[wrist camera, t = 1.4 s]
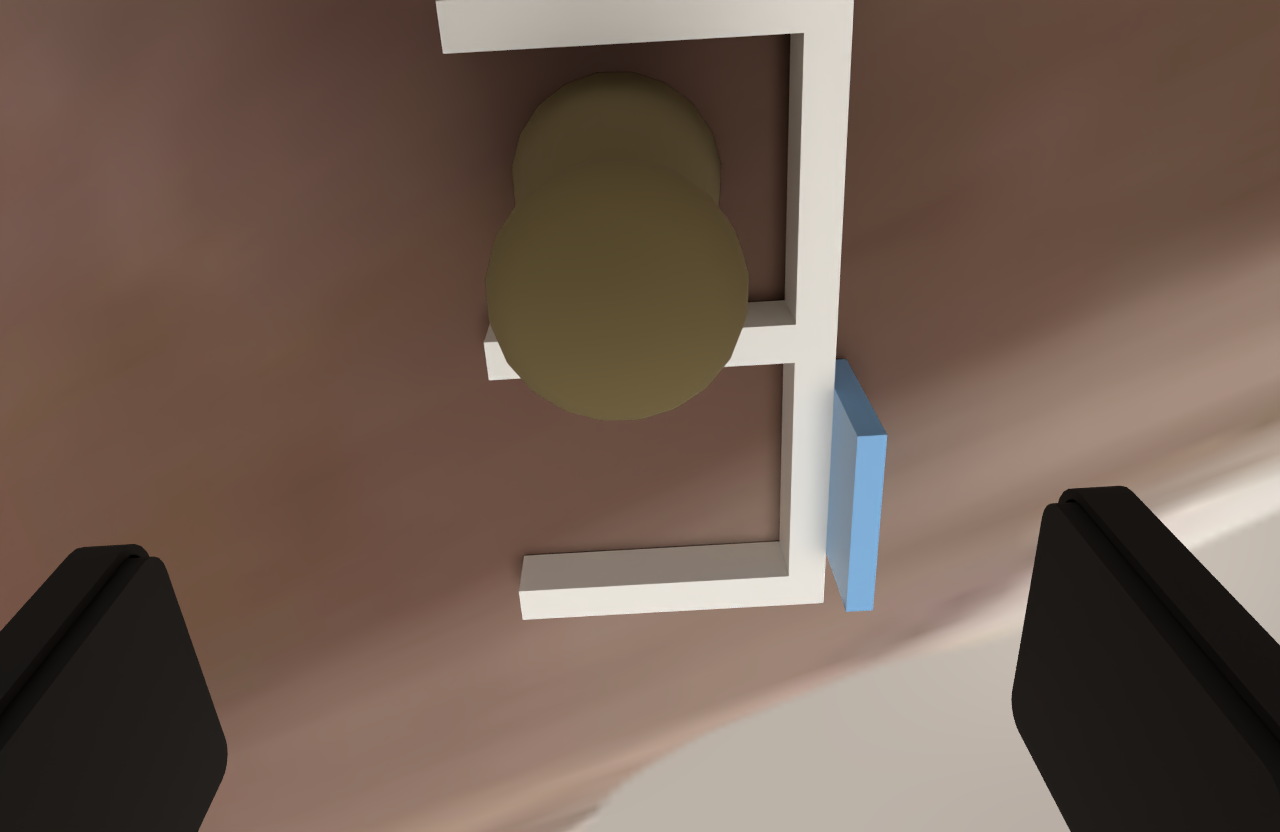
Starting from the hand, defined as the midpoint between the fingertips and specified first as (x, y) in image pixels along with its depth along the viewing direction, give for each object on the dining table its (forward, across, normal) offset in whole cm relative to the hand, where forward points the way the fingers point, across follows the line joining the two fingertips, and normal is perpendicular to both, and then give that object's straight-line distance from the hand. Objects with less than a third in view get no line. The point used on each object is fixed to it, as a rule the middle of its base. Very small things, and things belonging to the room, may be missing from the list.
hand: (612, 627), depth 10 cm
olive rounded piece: (+19, 0, -1) cm, 19 cm away
